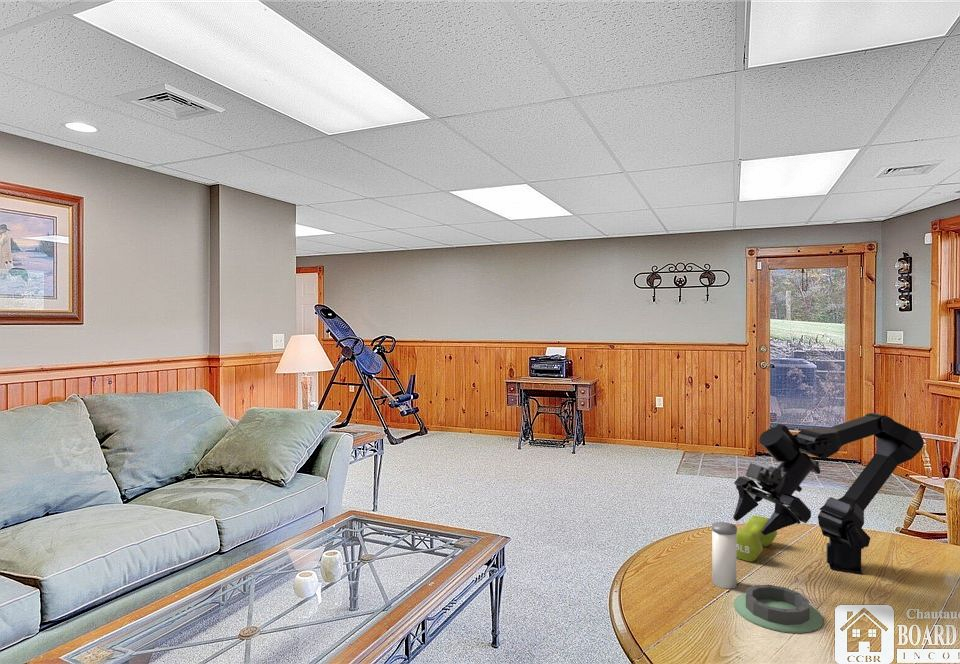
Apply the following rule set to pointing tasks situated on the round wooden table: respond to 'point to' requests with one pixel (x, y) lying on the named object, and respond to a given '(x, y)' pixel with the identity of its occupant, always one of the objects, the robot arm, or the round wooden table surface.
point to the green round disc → (778, 609)
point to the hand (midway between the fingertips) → (748, 526)
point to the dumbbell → (753, 538)
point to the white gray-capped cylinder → (724, 555)
